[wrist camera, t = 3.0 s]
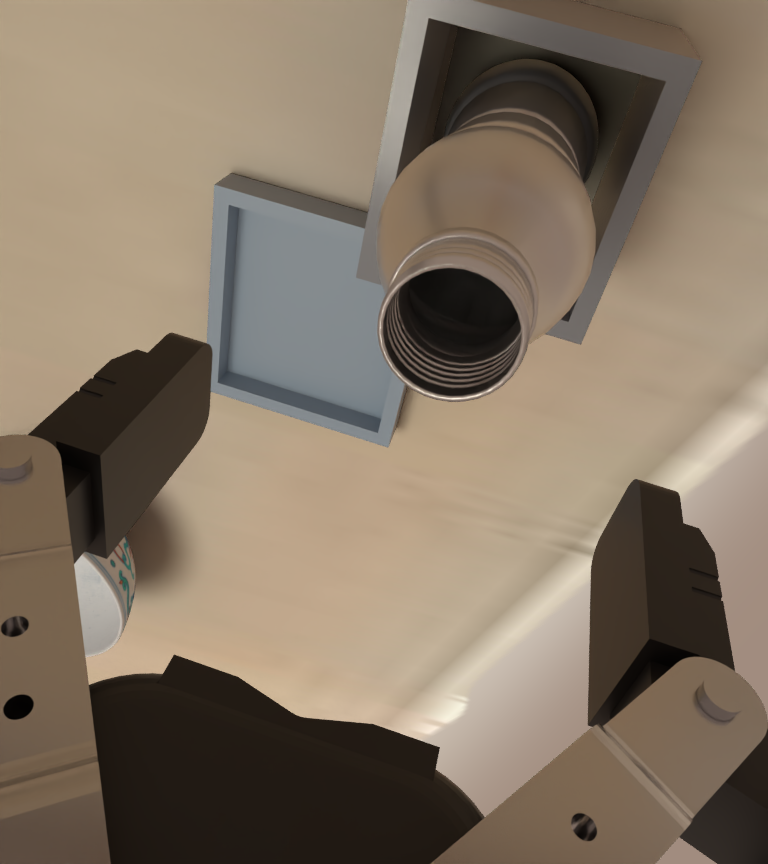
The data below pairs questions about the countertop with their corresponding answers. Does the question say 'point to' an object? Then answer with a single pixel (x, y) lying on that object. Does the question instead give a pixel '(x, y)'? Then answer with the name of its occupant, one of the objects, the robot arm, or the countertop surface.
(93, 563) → the chinaware
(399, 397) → the tray
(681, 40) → the holder
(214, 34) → the countertop surface
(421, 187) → the plastic bottle
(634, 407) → the countertop surface
